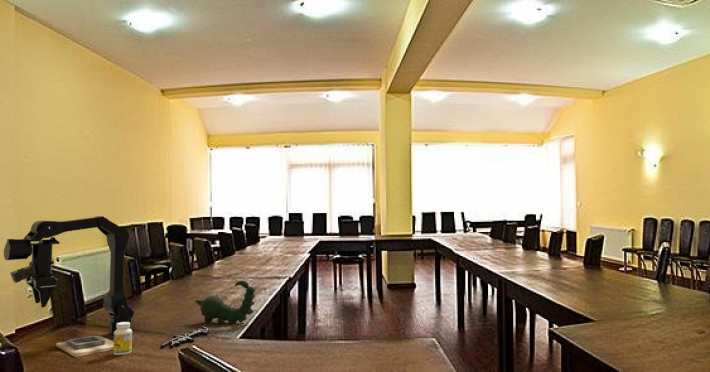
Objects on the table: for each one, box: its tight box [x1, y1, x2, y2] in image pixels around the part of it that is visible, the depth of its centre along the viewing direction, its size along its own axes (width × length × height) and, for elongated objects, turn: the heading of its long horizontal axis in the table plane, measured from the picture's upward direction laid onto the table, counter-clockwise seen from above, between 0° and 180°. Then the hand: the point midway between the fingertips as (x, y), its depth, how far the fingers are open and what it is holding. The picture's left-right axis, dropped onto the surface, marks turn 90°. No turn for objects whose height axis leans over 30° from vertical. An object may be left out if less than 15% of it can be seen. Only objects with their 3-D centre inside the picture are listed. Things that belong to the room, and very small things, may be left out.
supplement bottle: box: [112, 322, 133, 356], centre depth 158 cm, size 5×5×10 cm
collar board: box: [55, 335, 114, 358], centre depth 164 cm, size 14×18×2 cm
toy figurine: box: [194, 280, 256, 326], centre depth 203 cm, size 9×19×25 cm
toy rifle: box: [160, 326, 210, 349], centre depth 177 cm, size 28×2×10 cm
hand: (40, 305), depth 162 cm, fingers open, 9 cm apart
